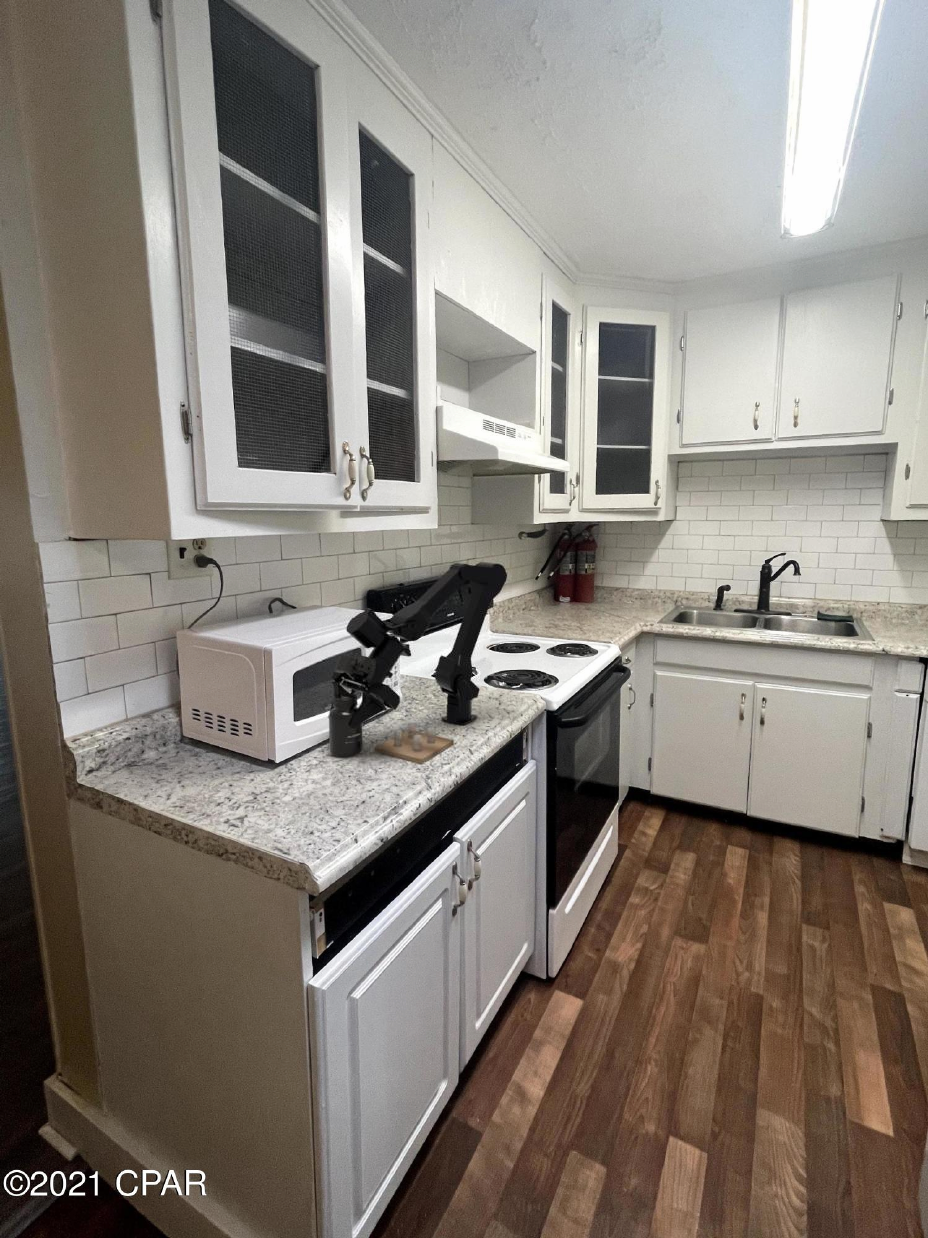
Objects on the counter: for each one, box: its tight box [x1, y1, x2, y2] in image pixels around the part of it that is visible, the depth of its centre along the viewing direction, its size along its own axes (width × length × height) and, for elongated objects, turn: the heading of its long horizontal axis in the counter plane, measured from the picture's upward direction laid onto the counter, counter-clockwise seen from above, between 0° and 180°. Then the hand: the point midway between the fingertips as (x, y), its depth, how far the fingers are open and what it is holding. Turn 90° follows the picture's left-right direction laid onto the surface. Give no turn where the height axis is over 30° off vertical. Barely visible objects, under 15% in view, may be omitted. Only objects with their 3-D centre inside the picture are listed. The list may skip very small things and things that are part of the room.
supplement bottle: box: [328, 693, 364, 758], centre depth 122 cm, size 7×7×12 cm
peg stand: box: [374, 722, 455, 765], centre depth 124 cm, size 12×12×4 cm
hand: (340, 723), depth 120 cm, fingers closed on supplement bottle, 7 cm apart
